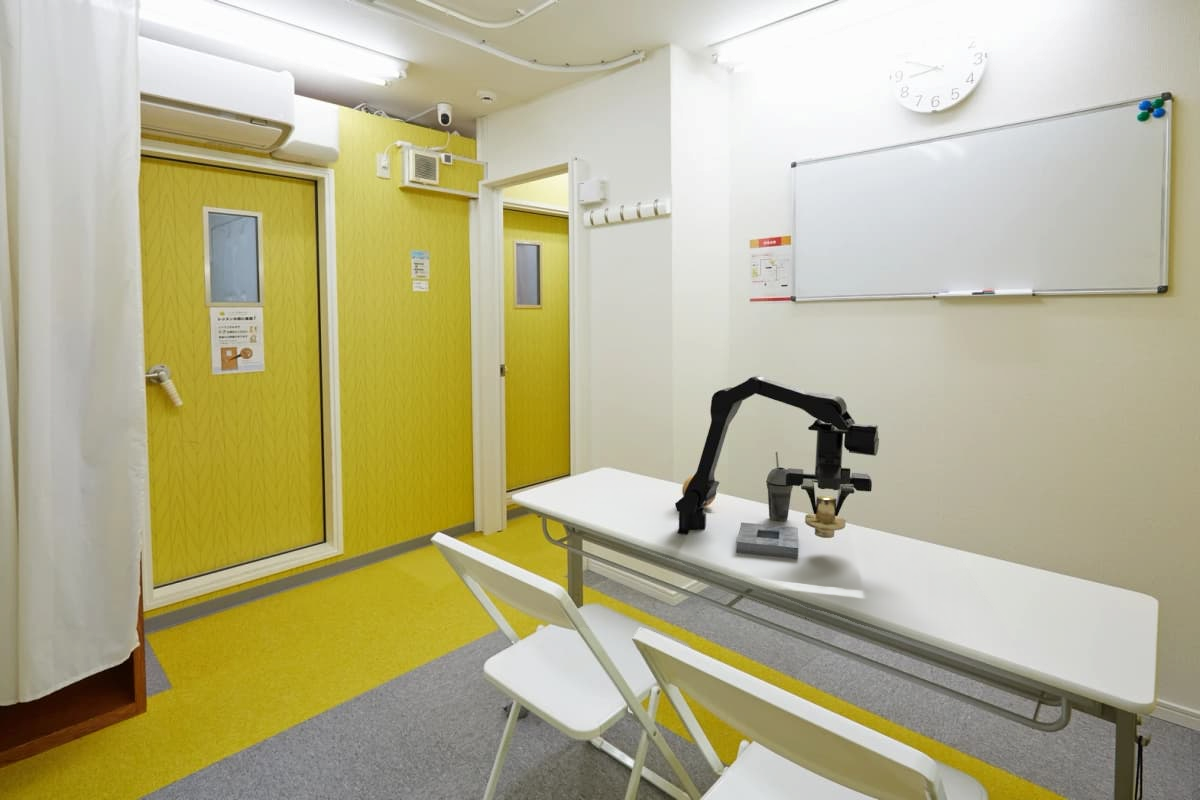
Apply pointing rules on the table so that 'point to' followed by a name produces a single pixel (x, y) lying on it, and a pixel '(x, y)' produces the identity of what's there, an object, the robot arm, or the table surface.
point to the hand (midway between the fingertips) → (825, 514)
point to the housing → (768, 540)
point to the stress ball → (686, 487)
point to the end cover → (825, 517)
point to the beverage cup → (778, 493)
